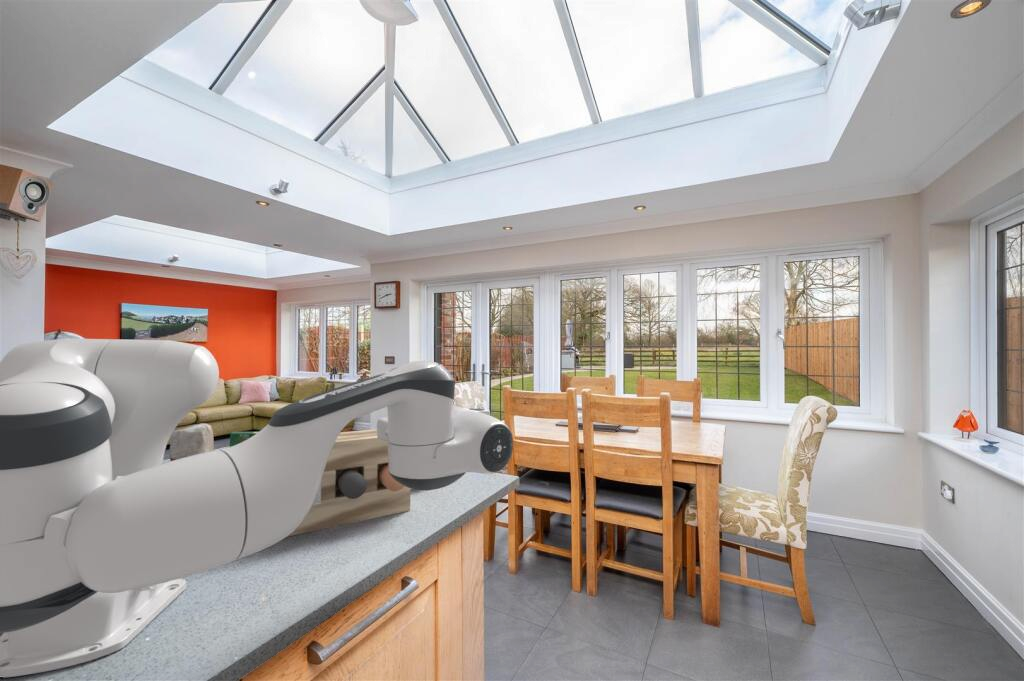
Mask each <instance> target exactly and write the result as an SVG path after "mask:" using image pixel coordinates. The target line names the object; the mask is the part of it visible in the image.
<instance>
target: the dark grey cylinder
mask: <svg viewBox="0 0 1024 681" xmlns="http://www.w3.org/2000/svg"><path fill="white" fill-rule="evenodd" d="M337 487H338V488H339V490H340V491H341V492H342V493H343V494H344V495H345V496H346V497H347V498H350V499H356V498H358V497H360V496H362V495H363V494H364V492H365V491H366V488H367V481H366V479H365V478H364V477H363V476H362V475H361V474H360V473H359V472H357V471H356V470H354V469H347V470H345V471H343V472H342V473H341V474H340V475H339V476H338V479H337Z"/></svg>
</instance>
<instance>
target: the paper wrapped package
mask: <svg viewBox="0 0 1024 681" xmlns="http://www.w3.org/2000/svg"><path fill="white" fill-rule="evenodd" d="M214 439H215V438H214V430H213V427H212V425H211V424H208V423H198V424H196V425H192V426H190V427H189V426H188V427H186V428H183V429H177V430H176V429H174V431H173V433H172V434H171V436H170V446H169V451H168V453H169V460H170V461H173V460H177V459H181V458H185V457H189V456H193V455H197V454H201V453H206V452H210V451H215V450H214V449H215V446H214ZM170 461H169V462H170Z"/></svg>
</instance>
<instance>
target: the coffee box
mask: <svg viewBox="0 0 1024 681" xmlns="http://www.w3.org/2000/svg"><path fill="white" fill-rule="evenodd" d="M258 432H259V431H232V432H230V435H229V436H230V437H229V447H232V446H234V445H237V444H239V443H241V442H243V441H245V440H247V439H249V438H251V437H252V436H254V435H255V434H257V433H258Z"/></svg>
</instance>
